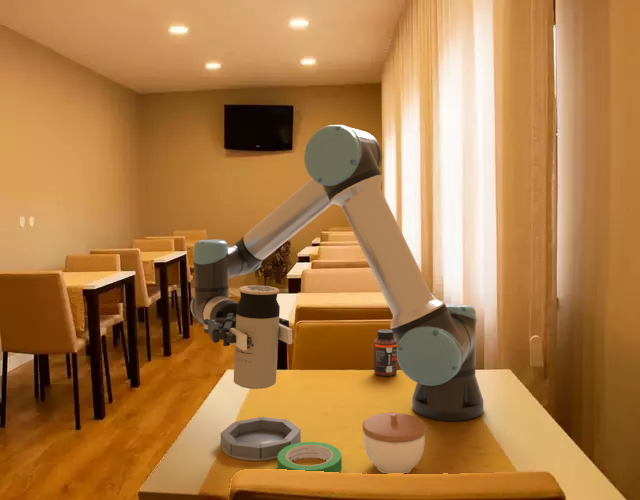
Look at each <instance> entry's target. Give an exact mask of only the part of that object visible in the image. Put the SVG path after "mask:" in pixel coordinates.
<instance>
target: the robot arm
mask: <svg viewBox="0 0 640 500" xmlns="http://www.w3.org/2000/svg"><path fill="white" fill-rule="evenodd" d="M303 162H304V166H305V168H306V172H307V173H308V175H309V176H310V178H311V179H309V180H308V181H307V182H306V183H304V184H303V185H302V186H301V187H300V188H298V189H297V190H296V191H295V192H294V193H292V194H291V195H290V196H289V197H288V198H286V199H285V200H284V201H283V202H281V204H280V205H278V206H277V207H275V209H274V210H272V211H271V212H270V213H269V214H268V215H267V216H265V217H264V218H262V219H261V221H260V222H258V223H256V224H255V226H254V227H252V228H251V229H250V230H249V231H247V232H246V233H245V234H244V235H242V237H241V238H239V239H238V240H237V241H236V242H235V243H233V244H231V245H228V242H227V241H226V240H224V239H201V240H197V241H195V243H194V245H193V257H192V260H193V271H194V272H193V278H194V295H193V297H192V298H191V301H190V307H189V308H190V311H191V314H192V316H193V317H194V318H195V319H196V320H197V321H198V322H199V323H200V324H202V325H203V332H204V333H205V334H207V335H208V336H209V337H210V339H211V341H212V343H214V344H217V343H219V342H220V340H221V341H222V342H223V345H222V346H224V347H229V346H231V344H232V345H233V346H234V347H235V346H237V347H238V348H240V349H241V350H247V335H246V334H244V333H242V332H241V331H239V330H237V329H236V313H237V304H238V301H236V300H233V299H231V298H230V297H229V279H230V278H234V277H239V276H244V275H248V274H251V273H253V272H256V271H257V270H258V269H259V268H260V267H261V265H262V263H263V261H264V260H265V259H266V258H268V257H269V256H270V255H271V254H273V253H275V251H276V250H278V249H279V248H280V247H281V246H282V245H283V244H285V243H287V241H289V240H290V239H291V238H293V237H294V236H295V235H296V234H298V233H299V232H300V231H302V230H303V229H304V228H305V227H306V226H307V225H309V224H310V223H312V221H314V220H315V219H317V217H318V216H320V215H321V214H322V213H324V212H325V211H326V210H328V209H329V208H330V207H331V206H332V205H336V206H339V207H340V208H341V210H342V211H343V214H344V215H345V218H346V220H347V222H348V224H349V226H350V228H351V230H352V232H353V234H354V236H355V238H356V241H357V243H358V245H359V247H360V248H361V251H362V254H363V255H364V258H365V259H366V262H367V264H368V265H369V268H370V270H371V273H372V274H373V277H374V278H375V281H376V282H377V285H378V287H379V289H380V291H381V293H382V296H383V297H384V299H385V302H386V303H387V304H386V305H387V306H388V307H389V309H390V312H391V314H392V319H391V322H390V325H389V326H390V327H389V328H390V330H392V332H393V338H394V339H396V341H397V364H399V367H400V369H401V370H402V373H404V375H405V376H406V377H408V378H409V379H410V380H411V381H413V382H414V383H416V386H415V389H414V391H413V393H412V397H411V398H412V399H411V400H412V403H411V405H412V410H413V411H414V412H415V413H416V414H418V415H421V416H422V417H425V418H430V419H432V420H438V421H446V422H456V421H457V422H459V421H461V422H462V421H469V420H473V419H476V418H478V417H480V416H481V415H483V413H484V398H483V395H482V392H481V389H480V386H479V382H478V380H477V379H478V378H477V376H476V364H477V363H476V355H477V353H476V349H477V347H476V344H477V340H476V339H477V338H476V336H477V322H478V318H477V315H476V314H477V313H476V309H475V308H474V307H473V306H472V305H467V304H458V303H445V302H444V301H443V300H440V299H437V298H435V297H434V296H433V294H432V292H431V290H430V288H429V285H428V283H427V282H426V279H425V277H424V275H423V274H422V272H421V269H420V268H419V265H418V264H417V262H416V259H415V257H414V255H413V253H412V251H411V249H410V246H409V245H408V242H407V241H406V238H405V236H404V235H403V232H402V230H401V228H400V226H399V224H398V221H397V220H396V218H395V216H394V213H393V211H392V210H391V208H390V206H389V203H388V201H387V199H386V197H385V195H384V193H383V191H382V189H381V185H382V183H383V180H384V175H383V173H382V172H381V170H380V169H381V167H382V162H383V151H382V148H381V145H380V143H379V142H378V140H377V138H375V137H374V136H373V135H371V134H370V133H369V132H366V131H365V130H361V129H356V128H352V127H350V126H347V125H345V124H331V125H326V126H323V127H321V128H319V129H318V130H316V131H315V132H314V133H313V134H312V135H311V136H310V138H309V140H308V141H307V144H306V147H305V150H304V155H303ZM279 340H280V341H281V342H284V343H286V344H288V345H292V344H293V329H292V328H290V320H288V319H285V318H281V317H279V333H278V341H279Z"/></svg>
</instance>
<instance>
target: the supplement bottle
mask: <svg viewBox="0 0 640 500" xmlns="http://www.w3.org/2000/svg"><path fill="white" fill-rule="evenodd" d="M397 348H398V343H397V341H396V339H395V337H394V334H393V332H392V330H391V329H378V330H377V337H376V338H375V339H374V341H373V350H374V351H373V371H374V373H375V375H377V376H381V377H390V376H392V377H393V376H395V375H396V374H397V372H398V371H397V370H398V359H397Z"/></svg>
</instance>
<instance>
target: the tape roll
mask: <svg viewBox="0 0 640 500" xmlns="http://www.w3.org/2000/svg"><path fill="white" fill-rule="evenodd" d="M302 458H304V459H317V458H320V459H319V460H322V459H323V460H322V461H324V462H322V463H316V464H312V465H310V464H309V465H304V464H298V463H295V461H294V460H296V461H298V460H297V459H299V460H303V459H302ZM276 460H277V463H276V464H277V470H278V469H287V470H305V471H324V472H340V471H342V469H343V468H342V462H343V461H342V460H343V459H342V452H341V451H340V449H339V448H337V447H335V446H334V445H332V444H328V443H324V442H319V441H304V442H303V441H302V442H301V443H295V444H292V445H289V446H287V447H285V448H283V449H282V450H281V451H280V452H279V453H278V456H277V459H276ZM325 460H326V461H325ZM293 461H294V462H293ZM341 468H342V469H341ZM340 473H341V472H340Z"/></svg>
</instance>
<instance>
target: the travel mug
mask: <svg viewBox="0 0 640 500" xmlns="http://www.w3.org/2000/svg"><path fill="white" fill-rule="evenodd" d="M238 291H239V293H240V299H239V300H238V301H237V303H238V304H237V313H236V329H237V330H239V331H241V332H242V333H244V334H246V335H247V350H241V349H240V348H238V347H237V346H235V345H234V362H233V363H234V364H233V384H235V385H237V386H239V387H241V388H245V389H248V390H249V389H251V390H258V389H259V390H261V389H268V388H270V387H272V386H274V385H275V384H276V383H277V371H278V370H277V369H278V348H279V339H278V333H279V318H280V311H281V309H280V308H281V307H280V304H279V301H278V300H277V298H278V294H279V292H280V289H279V288H277V287H273V286H269V285H257V284H256V285H243V286H240V287H239V288H238Z"/></svg>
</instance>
